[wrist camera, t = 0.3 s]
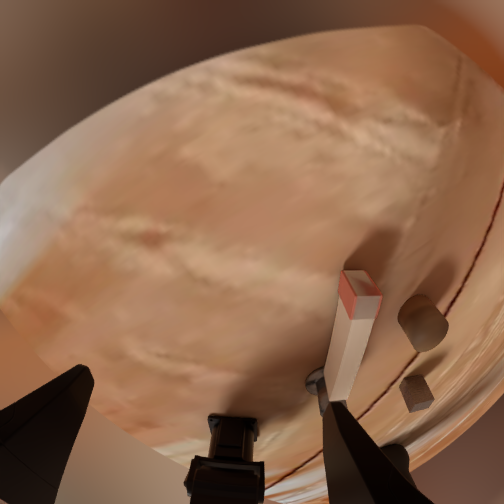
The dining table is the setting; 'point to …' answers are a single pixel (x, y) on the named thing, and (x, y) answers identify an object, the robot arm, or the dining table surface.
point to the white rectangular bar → (350, 331)
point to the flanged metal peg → (319, 389)
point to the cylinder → (422, 323)
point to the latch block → (416, 393)
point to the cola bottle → (399, 460)
